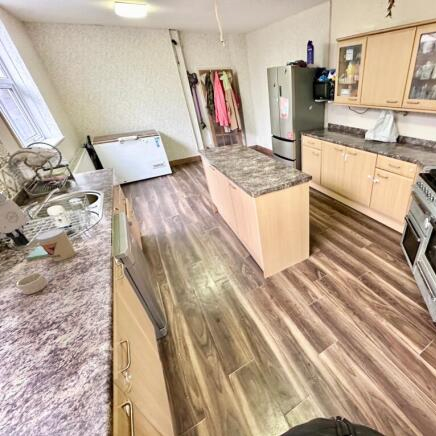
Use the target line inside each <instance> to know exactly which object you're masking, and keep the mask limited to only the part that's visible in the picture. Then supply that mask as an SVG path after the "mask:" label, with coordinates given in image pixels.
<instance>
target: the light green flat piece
mask: <svg viewBox="0 0 436 436" xmlns="http://www.w3.org/2000/svg"><path fill="white" fill-rule="evenodd" d="M47 257H50V256H49V254H48V253H47V252H46V251H45V250H44V249H43V247H42V246H41V245H40V246H39V245H38V246H37V247H36V248H35V249H34V250H33V251H31V252H30V253H29V254H28V255H27V256H26V257H25V259H26V261H31V260H32V261H33V260H36V259H42V258H47Z"/></svg>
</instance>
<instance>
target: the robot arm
mask: <svg viewBox="0 0 436 436" xmlns="http://www.w3.org/2000/svg"><path fill="white" fill-rule="evenodd" d="M28 222H29V218H28V216H27V215H26V213H24V211H23V210H22V208H21V207H20V206H19V205H18V204H17V203H16V202H15V201H14V200H13V199H11V198H9V197H7V196H6V194H5V193H4V191H3V190H2V188H0V239H5V238H7V239H11V240H12V242H13V243H14V245H15V246H16V247H21V246H27V245H29V244H30V240H29V239H28V238H27V236H26V235H25V230H24V228H25V226H26V225H27V223H28Z"/></svg>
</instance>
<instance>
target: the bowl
mask: <svg viewBox="0 0 436 436" xmlns="http://www.w3.org/2000/svg"><path fill="white" fill-rule="evenodd" d="M48 284H49V280H48V279H47V278H46V277H45V275H44V274H43V273H42V272H34V273H30V274H28V275H25V276H24V277H22V278H20V279H19V280H17V282H16V283H15V286H16V287H17V288H18V290H19V291H20V292H21V293H22V294H24V295H31V294H35V293H38V292H40V291H42V290H43V289H45V288H46V286H47V285H48Z"/></svg>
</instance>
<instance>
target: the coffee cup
mask: <svg viewBox="0 0 436 436" xmlns="http://www.w3.org/2000/svg"><path fill="white" fill-rule="evenodd" d="M35 241H36V242H37V243H38V244H39V245H40V246H42V247H43V249H44V250H45V251H46V252H47V253H48V254H49V257H50V258H51V259H52V260H53V262H61V261H64V260H67V259H69V258H72V257H73V256H75V254H76V249H75V248H74V246H73V244H72V242H71V240H70V238H69V236H68V234H67V232H66V230H65V229H64V228H60V227H57V228H52V229H49V230H46V231H43V232H41V233H40V234H38V235H36V237H35Z"/></svg>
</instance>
